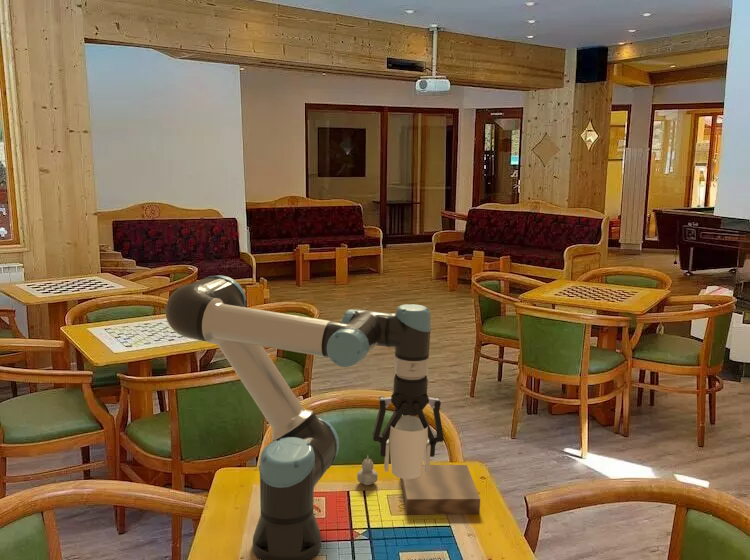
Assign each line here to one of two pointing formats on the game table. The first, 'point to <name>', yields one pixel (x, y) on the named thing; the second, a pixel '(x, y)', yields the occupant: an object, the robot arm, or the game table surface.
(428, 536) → the game table surface
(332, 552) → the game table surface
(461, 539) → the game table surface
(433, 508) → the walnut base
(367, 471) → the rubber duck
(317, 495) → the game table surface
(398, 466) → the cup
